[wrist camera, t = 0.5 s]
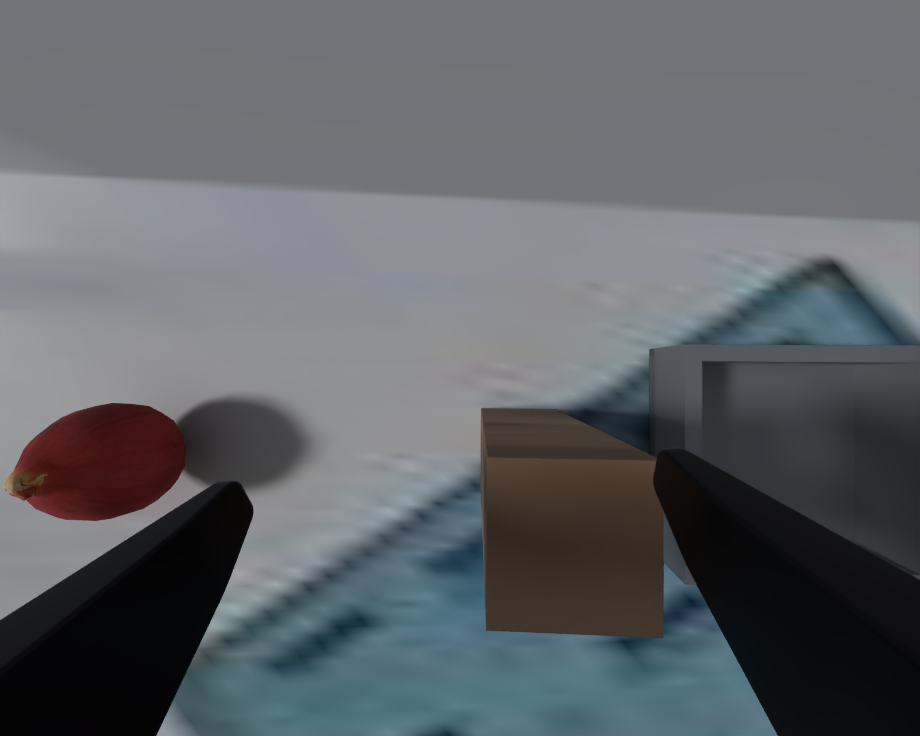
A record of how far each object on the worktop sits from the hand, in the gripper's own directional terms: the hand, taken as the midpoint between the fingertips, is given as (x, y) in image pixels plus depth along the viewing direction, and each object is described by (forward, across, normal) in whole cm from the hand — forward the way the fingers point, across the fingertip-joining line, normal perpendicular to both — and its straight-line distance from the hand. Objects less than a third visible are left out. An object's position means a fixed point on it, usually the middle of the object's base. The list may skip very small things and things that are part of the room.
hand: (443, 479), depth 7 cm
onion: (+12, +18, +7) cm, 23 cm away
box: (+10, -16, +10) cm, 21 cm away
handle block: (+11, -3, +8) cm, 14 cm away
